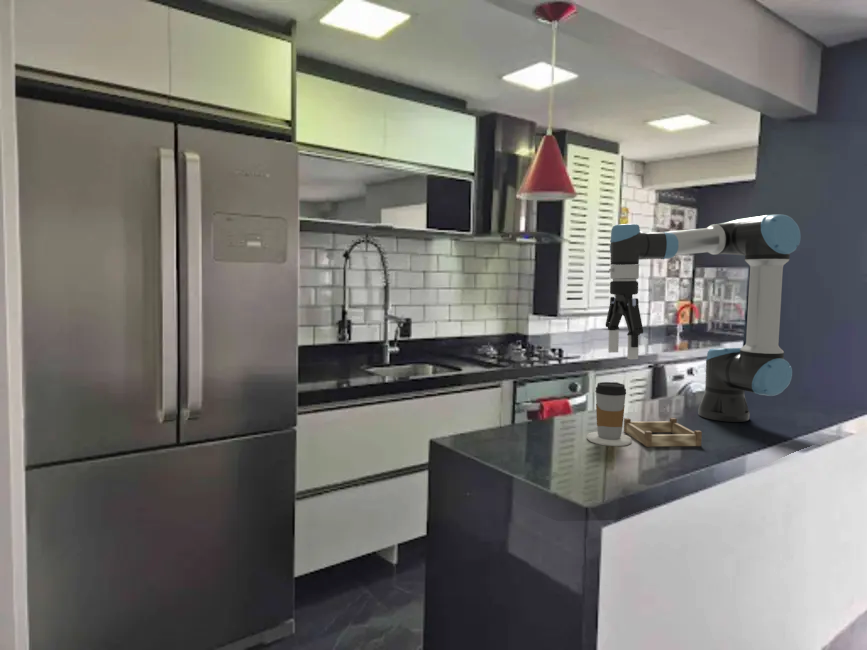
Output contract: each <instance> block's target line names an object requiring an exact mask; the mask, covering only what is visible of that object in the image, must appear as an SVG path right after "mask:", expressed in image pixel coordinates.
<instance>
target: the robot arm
mask: <svg viewBox="0 0 867 650" xmlns="http://www.w3.org/2000/svg"><path fill="white" fill-rule="evenodd" d="M801 239H802V237H801V230H800V227H799V225H798V223H797V222H796V221H795V220H794V219H793V218H792V217H791V216H789V215H786V214H780V213H779V214H776V213H775V214H765V215H760V216H752V217H751V216H750V217H744V218H738V219H735V220H734V219H733V220H730V221H726V222H721V223H716V224H715V223H714V224H710V225H709V226H707V227H705V228H694V229H683V230H674V231H672V230H671V231H660V232H658V231H655V232H653V231H651V232H650V231H648V232H647V231H646V232H645V231H644V232H643V231H641V229H640V224H635V223H623V224H614V225H613V226H612V227H611V232H610V243H609V244H610V245H609V252H610V268H608V271H609V273H610V275H609V276H610V277H609V278H610V279H611V281H610V282H609V293H610V295H615V296H610V297H609V298H610V299H609V307H608V311H607V316H606V321H605V328H607V330H608V350H607V351H608V353H619V340H620V339H619V338H620V337H619V336H620V335H619V333H620V331H619V330H620V327H619V325H620V323H621V320H622V317H624V320H625V322H626V323H625V324H626V327H627V329H628V332H627V334H626V335H627V360H639V345H640V344H639V340H640V338H639V337H640V336H641V334H643V333H644V328H643V322H642V318H641V313H640V312H641V311H640V307H639V298H638V297H637V298H636V297H635V298H634V296H633V295H638V294H639V281H637V280H639V277H640V273H639V272H640V261H641V260H665V259H673V258H674V257H675V256H682V255H693V254H702V253H704V254H705V253H708V254H710V255H714V256H715V255H735V256H736V255H737V256H744V262H746V263H747V264H748V266H749V283H748V298H747V299H748V304H747V321H746V338H745V339H746V340H745V344H744V345H742V347H726V348H725V347H724V348H723V347H721V348H711V349H709V350H708V351H707V353H706V359H705V388H704V389H705V390H704V394H703V396H702V399H701V401H700V404H699V405H698V411H697V412H698V416H700V417H701V418H705V419H708V420H713V421H719V422H728V423H740V422H741V423H743V422H747V421H749V420H750V409H749V407H748V406H749V405H748V403H747V400H746V396H745V392H750V393H754V394H756V395H759V396H768V397H773V396H777V395H780V394H781V393H783V392H784V391H785V389H787V388H788V387H789V385H790V383H791V381H792V378H793V368H792V365H790V363H789V361H787V360H786V359H784V358H785V357H784V355H785V352H784V350H783V349H782V348H781V347H780V346H779V343H780V342H779V341H780V339H779V338H780V324H781V309H782V308H781V306H782V293H783V292H782V290H783V289H782V288H783V287H782V286H783V273H784V272H783V270H784V265H786V263H788V262H789V261H790V258H791V257H790V254H791V253H793V252H795V251H796V250H797V249H798V248H797V247H799V246H800V243H801Z"/></svg>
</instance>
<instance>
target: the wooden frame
mask: <svg viewBox="0 0 867 650" xmlns="http://www.w3.org/2000/svg"><path fill="white" fill-rule="evenodd" d="M631 420H632V419H631V418H628V417H627V418H626V417H623V432H624V433H626V434H627V435H628V436H629V437H631V438H633V439H635V440H637V441H638V442H639V443H640V444H642V445H644V446H645V447H646V448H651V447H702V438H703V437H702V434H703V432H702V431H701V430H699V429H698V430H694V431H693V430H692V429H690V428H688V427H686V426H684V425H682V424H680V423H678V422H677V420H678V419H677V417H676V418H675V417H670V418H669V421H668V420H667V421H662V420H661V421H657V420H656V421H631ZM653 433H663V434H653ZM664 433H669V434H664ZM671 433H672V434H671Z"/></svg>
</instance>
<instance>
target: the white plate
mask: <svg viewBox="0 0 867 650" xmlns="http://www.w3.org/2000/svg"><path fill="white" fill-rule="evenodd" d="M586 439H587V440H588V442H589V443H590V442H591V443H593V444H596V445H601V446H607V447H625V446H629V445H631V444H632V442H633V441H632V436H630V435H628V434H627V435H626V434H623V433H621V437H620V439H618V440H606V439H602V438H600V437H599V435H598V432H597V431H592V432H588V433H587V435H586Z"/></svg>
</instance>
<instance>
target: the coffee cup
mask: <svg viewBox="0 0 867 650" xmlns="http://www.w3.org/2000/svg"><path fill="white" fill-rule="evenodd" d="M626 395H627V389H626V386H625V384H624V383H619V382H614V381H613V382H611V381H610V382H609V381H603V382H598V383H597V384H596V387H595V401H596V403H595V408H596V409H595V411H596V426H597V427H596V429H597V431H596V432H598V435H599V437H600V438H602V439H606V440H618V439H620V437H621V434H623V433H622V431H623V427H624V414H625V407H626V405H625V401H626Z"/></svg>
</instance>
